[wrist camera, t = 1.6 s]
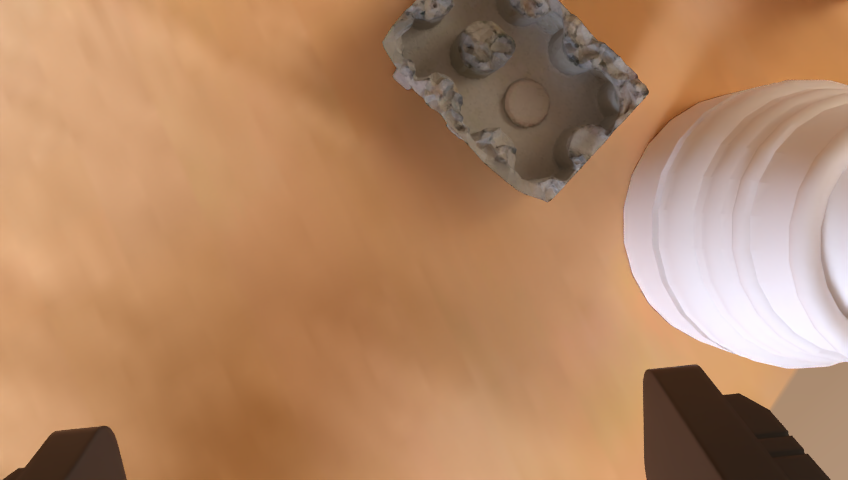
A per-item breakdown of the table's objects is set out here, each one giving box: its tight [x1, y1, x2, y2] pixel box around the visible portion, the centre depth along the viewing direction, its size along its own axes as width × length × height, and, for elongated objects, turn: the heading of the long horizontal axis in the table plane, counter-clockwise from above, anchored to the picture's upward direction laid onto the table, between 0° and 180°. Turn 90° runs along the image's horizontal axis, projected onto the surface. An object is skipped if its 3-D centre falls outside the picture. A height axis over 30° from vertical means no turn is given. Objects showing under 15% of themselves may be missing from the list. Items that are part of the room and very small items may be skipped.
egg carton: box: [382, 0, 649, 202], centre depth 35 cm, size 11×8×4 cm
